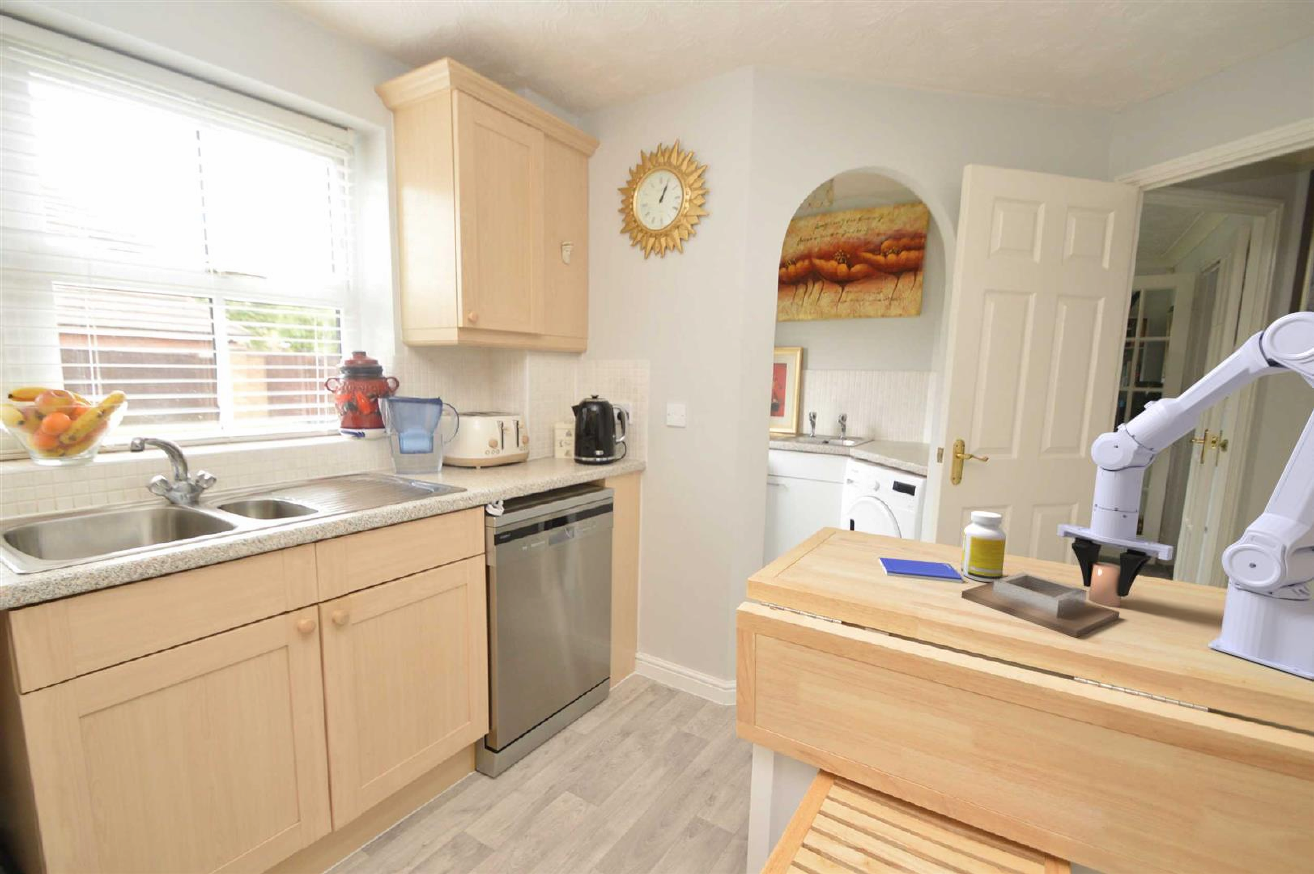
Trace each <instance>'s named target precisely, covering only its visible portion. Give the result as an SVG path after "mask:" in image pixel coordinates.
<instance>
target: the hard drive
mask: <svg viewBox="0 0 1314 874" xmlns="http://www.w3.org/2000/svg"><path fill="white" fill-rule="evenodd" d="M878 563H879V565H880V566H881V568H882V570H883V572H884V574H885V575H886V576H887V577H888V576H890V577H901V578H909V579H920V580H929V581H940V582H948V583H959V584H963V576H962V575H961V574H960V573H959V572H958V571H957V570H956V569H955V568H954V567H953V566H952V565H951V564H950V563H947V562H946V563H945V562H934V561H923V560H912V559H911V560H910V559H901V558H900V559H899V558H889V557H878Z"/></svg>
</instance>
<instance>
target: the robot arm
mask: <svg viewBox="0 0 1314 874" xmlns="http://www.w3.org/2000/svg"><path fill="white" fill-rule="evenodd" d="M1289 372H1296V373H1298V374H1300V377H1302V378H1303V379H1304V380H1305V381H1306V382H1307V383H1308V384H1309V386H1310V387H1311V388H1312V389H1314V311H1298V312H1297V311H1296V312H1294V313H1293V312H1292V313H1289V314H1287V315H1284V316H1282V317H1279V318H1278V319H1276V320H1275V321H1273V322H1272V323H1271V324H1270V325H1269V326H1268V327H1267V328H1266V330H1261V331H1259V332H1257V333H1255V334H1253V335H1252V336H1250V338H1248V339H1247V340H1246V341H1245V342H1244V344H1243V345H1241V346H1240V348H1238V349H1237V350H1236V351H1235V352H1234V353H1232V354H1230V356H1228V357H1227V358H1226V359H1224V360H1223V361H1222V362H1221V363H1219V364H1217V366H1216V367H1215V368H1213V369H1212V370H1211V371H1209V372H1208V373H1207V374H1205V375H1204V376H1203V377H1202V378H1201V379H1200V380H1198V381H1197V382H1196V383H1194V384H1193V385H1191V386H1190V387H1189V388H1188V389H1187V390H1186V391H1185V392H1183V393H1182V394H1179V396H1178V397H1175V398H1172V397H1170V398H1168V397H1165V398H1160V399H1158V400H1150V401H1149V402H1146V404H1145V405H1143V407H1144V408H1145V409H1144V411H1142V412H1141V413H1139V414H1138V415H1136V416H1135V417H1134V418H1132V419H1131V420H1129V422H1127V423H1121V424H1120V425H1118V426H1117V429H1118V430H1117V431H1116V432H1104V433H1102V434H1100V435H1098V437H1097V438H1096V439H1095V440H1094V441H1093V443H1092V445H1091V448H1090V453H1091V454H1090V456H1091V458H1092V460H1093V462H1094V463H1095V464H1096V465H1097V468H1096V476H1095V484H1094V492H1093V493H1094V494H1093V499H1092V500H1093V502H1092V511H1091V512H1092V513H1091V517H1090V518H1091V519H1090V520H1091V521H1090V526H1089V527H1085V526H1078V525H1073V524H1072V525H1071V524H1066V523H1061V524H1058V526H1057V532H1056V536H1057V537H1059V538H1060V537H1062V538H1070V539H1073V540H1074V542H1072V543H1071V549H1072V551H1073V553H1074V554H1075V556H1076V558H1077V562H1078V565H1079V567H1080V571H1081V576H1082V581H1083V587H1086V588H1090V583H1091V574H1092V566H1093V563H1094V562H1098V559H1099V555H1100V551H1101V548H1102V546H1105V547H1110V548H1113V549H1117V550H1122V551H1124V552H1121V553H1119V566H1120V580H1119V586H1118V596H1121V598H1125V597H1127V596H1129V593H1130V591H1131V589H1132V585H1133V583H1134V582H1135V580H1136V578H1137V576H1138V575H1139V574H1140V572H1141V571H1142V569H1143V568H1144V567H1145V566H1146V564H1147V563H1149V561H1150V560H1151V559H1152V557H1154V558H1158V559H1159V560H1162V561H1170V560H1172V559H1173V553H1174V546H1172V545H1168V544H1163V543H1161V542H1156V541H1152V540H1148V539H1144V538H1141V537H1138V536H1137V530H1138V522H1139V516H1140V515H1139V514H1140V506H1141V498H1142V489H1143V485H1144V484H1143V480H1144V475H1145V471H1146V469H1147V468H1148V467H1150V466H1151V464H1152V463H1154V461H1155V458H1156V456H1157V454H1158V453H1160V452H1161V451H1163V450H1164V449H1166V448H1168V447H1169V446H1170V445H1172V444H1173V443H1175V442H1177V441H1178V440H1180V439H1181V438H1182V437H1184V436H1186V435H1187V434H1188V433H1190V432H1191V431H1193V430H1194V429H1196V428H1197V427H1198V426H1199V421H1200V414H1202V413H1203V412H1205V411H1206V410H1208V409H1210V408H1211V407H1213V406H1215V405H1217V404H1218V403H1219V402H1221V401H1223V400H1224V399H1226V398H1228V397H1229V396H1231V395H1232V394H1235V393H1236V392H1238V391H1239V390H1241V389H1242V388H1244V387H1246V386H1247V385H1249V384H1251V383H1252V382H1254V381H1256V380H1258V378H1261V377H1265V376H1270V375H1276V374H1284V373H1289ZM1221 565H1222V568H1223V570H1224V572H1225V574H1226V575H1227V576H1228V583H1227V589H1226V596H1225V603H1224V610H1223V611H1224V612H1223V618H1222V624H1221V631H1220V635H1219V636H1217V637H1216V638H1214V639H1213V640H1212V641H1210V642H1208V645H1207V647H1208V648H1211V649H1213V650H1217V651H1220V652H1223V653H1227V654H1229V655H1233V656H1236V657H1239V658H1241V659H1245V660H1248V661H1251V662H1255V663H1258V664H1262V665H1265V666H1268V667H1271V668H1274V669H1277V670H1281V671H1283V672H1287V673H1290V674H1293V675H1297V676H1300V677H1303V678H1305V679H1309V680H1314V598H1312V597H1311V596H1312V592H1311V589H1310V587H1309V584H1308V583H1311V582H1313V581H1314V409H1313V411H1312V413H1311V415H1310V416H1309V419H1308V421H1307V422H1306V424H1305V427H1304V428H1303V431H1302V433H1301V435H1300V437H1299V439H1298V440H1297V443H1296V445H1295V447H1294V449H1293V451H1292V453H1291V455H1290V457H1289V459H1288V461H1287V463H1286V465H1285V467H1284V470H1283V472H1282V473H1281V476H1280V478H1279V480H1278V481H1277V484H1276V486H1275V488H1274V490H1273V492H1272V494H1271V496H1270V498H1269V501H1268V503H1267V504H1266V507H1265V508H1264V510H1263V512H1262V513H1261V515H1259V517H1258V518H1256V519H1255V520H1254V521H1253V522H1252V523H1251V524H1250V525H1248V526H1247V528H1245V530H1244V533H1243V535H1242V536H1241V538H1240V539H1239V540H1237V541H1236V542H1234V543H1233V544H1231V545H1229V546H1228V547H1227V548H1226V549H1225V550H1224V551H1223V554H1222V556H1221Z"/></svg>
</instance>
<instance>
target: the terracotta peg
mask: <svg viewBox="0 0 1314 874" xmlns="http://www.w3.org/2000/svg"><path fill="white" fill-rule="evenodd" d="M1119 580H1120V565H1117V564H1115V563H1114V564H1113V563H1109V562H1101V561H1097V562H1094V563H1093V566H1092V574H1091V583H1090V587H1089V591H1088V601H1090V602H1092V603H1093V604H1096V605H1099V606H1103V607H1110V608H1111V607H1112V608H1117V607H1118V608H1119V607H1120V606H1121V602H1122V601H1121V600H1122V597H1121V596H1118V586H1119Z"/></svg>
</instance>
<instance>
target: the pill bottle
mask: <svg viewBox="0 0 1314 874" xmlns="http://www.w3.org/2000/svg"><path fill="white" fill-rule="evenodd" d="M1002 518H1003V517H1002V515H1001V514H999V513H995V512H989V511H982V510H975V511H971V515H970V520H971V521H972V523H971V524H969V525H967V526H965V528H964V531H963V540H962V541H963V543H962V550H961V552H962V553H961V554H962V555H961V565H960V572H961V574H962V575H963V576H965V577H966V578H969V579H971V580H975V581H979V582H984V583H985V582H986V583H992V582H994V581H995V580H999V579H1002V578H1003V571H1004V562H1005V551H1006V550H1005V549H1006V540H1007V535H1006V532H1005V531H1004V530H1003V529H1002V528H1000V525H1001V524H1002Z"/></svg>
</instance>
